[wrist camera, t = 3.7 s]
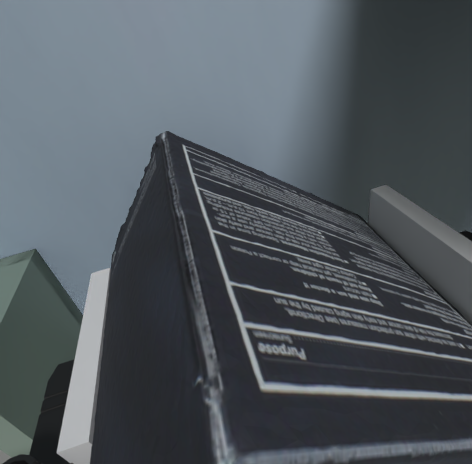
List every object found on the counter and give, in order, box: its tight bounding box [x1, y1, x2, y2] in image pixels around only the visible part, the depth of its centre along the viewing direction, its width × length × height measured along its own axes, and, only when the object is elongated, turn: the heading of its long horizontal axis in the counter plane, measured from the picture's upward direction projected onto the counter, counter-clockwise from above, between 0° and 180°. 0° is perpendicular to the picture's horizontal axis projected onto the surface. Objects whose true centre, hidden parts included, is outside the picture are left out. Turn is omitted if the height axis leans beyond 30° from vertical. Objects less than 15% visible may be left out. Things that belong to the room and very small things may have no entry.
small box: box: [90, 131, 472, 464], centre depth 10 cm, size 11×6×10 cm, turn 63°
